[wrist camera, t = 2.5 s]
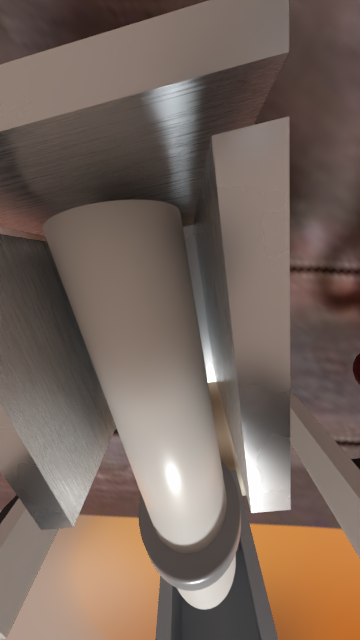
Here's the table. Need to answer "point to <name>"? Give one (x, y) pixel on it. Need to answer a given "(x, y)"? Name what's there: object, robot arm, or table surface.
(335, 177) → the table surface
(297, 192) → the table surface
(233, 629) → the socket block
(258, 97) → the grey u-shaped bracket
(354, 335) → the table surface
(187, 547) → the slip tube
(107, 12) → the table surface
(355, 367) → the mug
